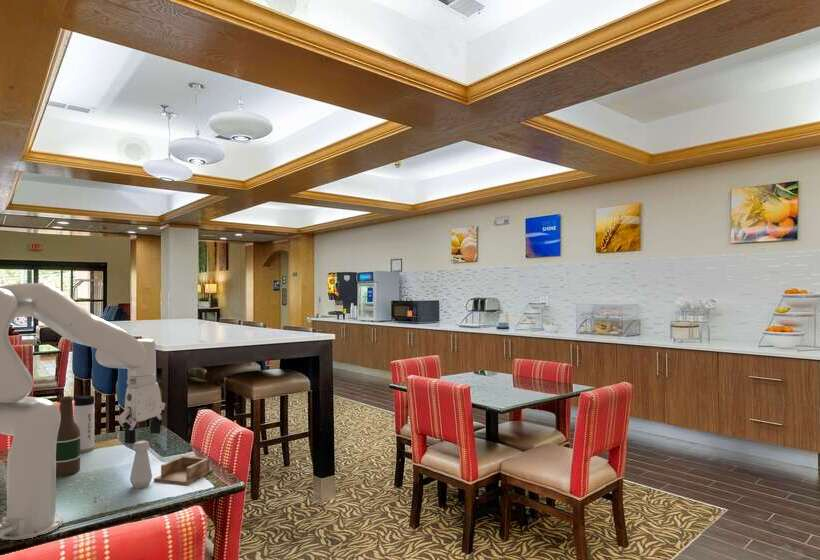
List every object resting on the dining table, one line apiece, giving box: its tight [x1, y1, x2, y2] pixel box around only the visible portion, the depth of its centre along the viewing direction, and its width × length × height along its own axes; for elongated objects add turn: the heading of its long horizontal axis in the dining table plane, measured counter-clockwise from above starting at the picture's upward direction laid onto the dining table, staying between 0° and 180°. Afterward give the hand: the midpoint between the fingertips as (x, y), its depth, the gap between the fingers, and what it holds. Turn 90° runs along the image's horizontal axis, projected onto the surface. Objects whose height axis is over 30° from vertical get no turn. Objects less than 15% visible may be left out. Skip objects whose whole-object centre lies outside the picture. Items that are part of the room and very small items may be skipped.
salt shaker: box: [129, 440, 153, 489], centre depth 152 cm, size 6×6×13 cm
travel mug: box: [72, 394, 95, 454], centre depth 187 cm, size 6×7×20 cm
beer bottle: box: [56, 395, 81, 478], centre depth 164 cm, size 8×8×24 cm
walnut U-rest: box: [153, 455, 214, 486], centre depth 160 cm, size 12×12×4 cm
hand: (143, 438), depth 153 cm, fingers open, 9 cm apart
